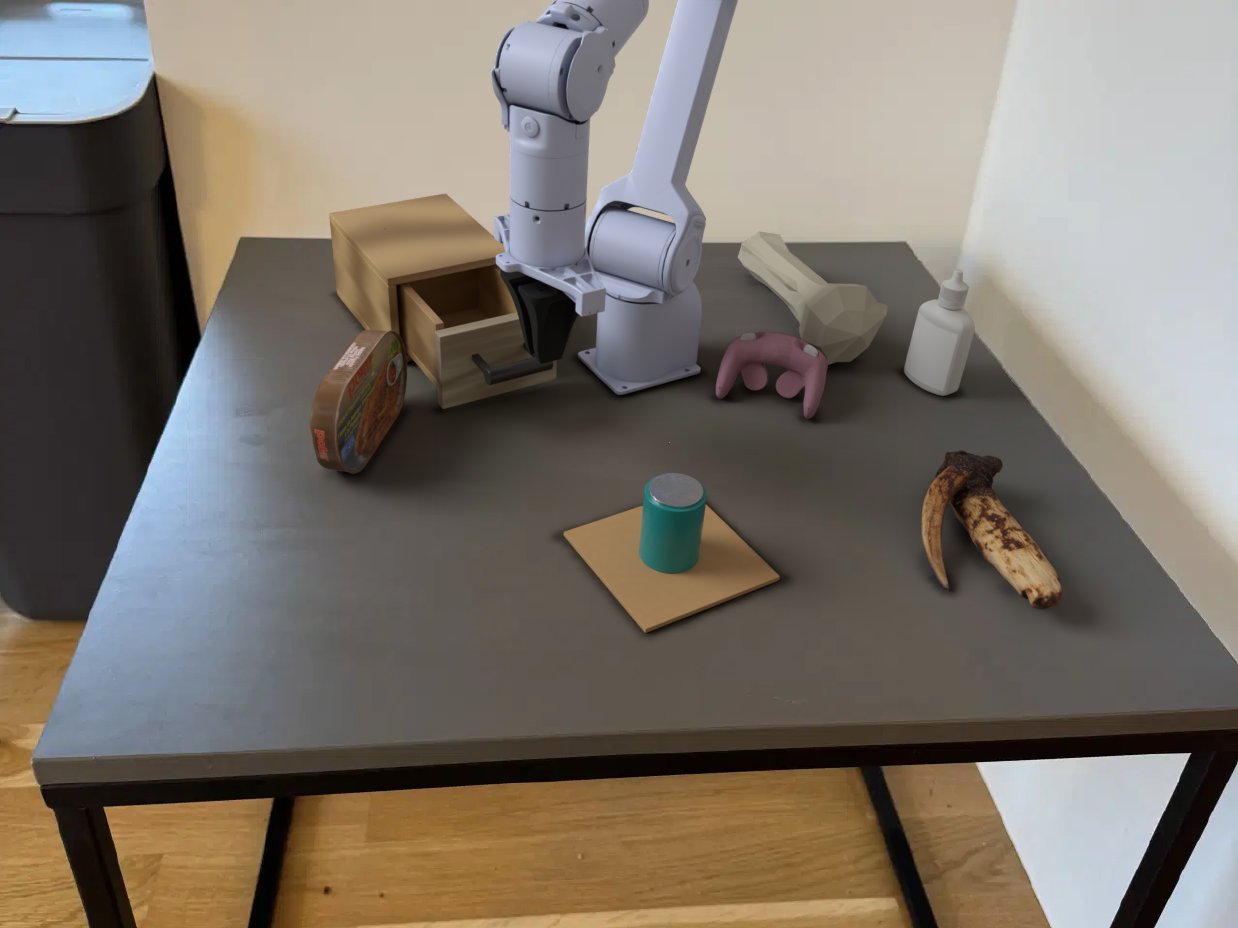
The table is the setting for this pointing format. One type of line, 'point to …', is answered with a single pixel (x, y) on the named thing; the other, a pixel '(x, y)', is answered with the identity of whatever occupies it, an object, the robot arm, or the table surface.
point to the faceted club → (815, 299)
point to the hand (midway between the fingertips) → (544, 354)
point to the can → (672, 522)
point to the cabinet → (402, 252)
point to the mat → (665, 595)
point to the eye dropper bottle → (941, 339)
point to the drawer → (467, 336)
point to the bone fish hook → (985, 528)
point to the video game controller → (778, 350)
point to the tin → (359, 400)
